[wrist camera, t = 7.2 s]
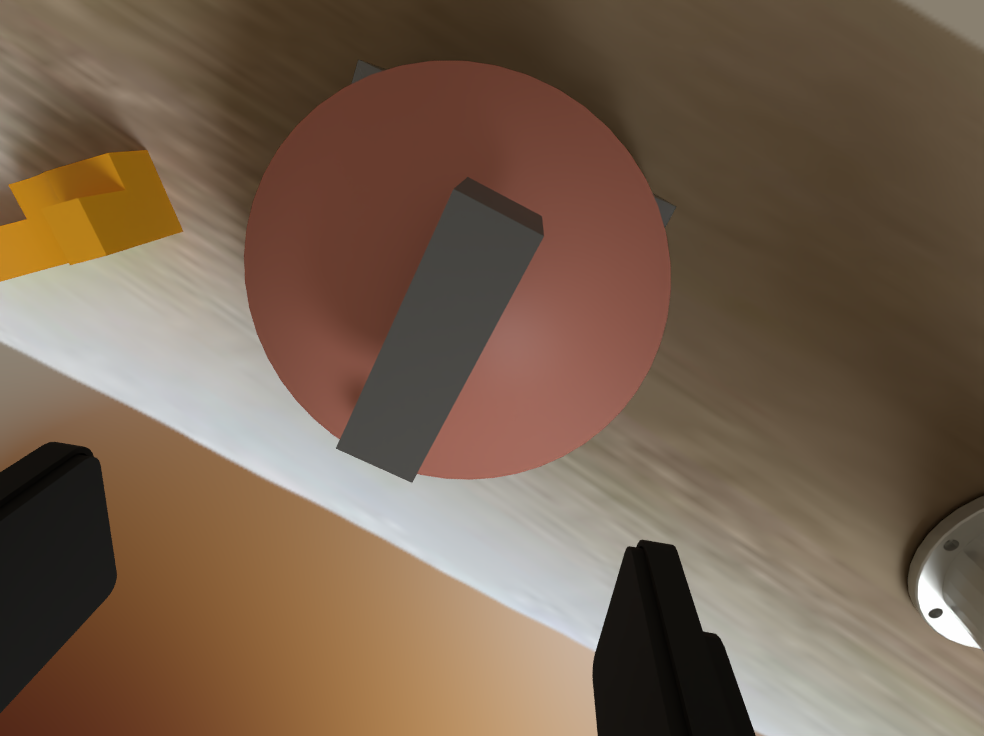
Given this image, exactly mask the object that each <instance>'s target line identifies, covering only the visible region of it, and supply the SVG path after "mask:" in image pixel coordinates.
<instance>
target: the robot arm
mask: <svg viewBox="0 0 984 736" xmlns="http://www.w3.org/2000/svg"><path fill="white" fill-rule="evenodd" d="M116 578H117V572H116V566H115V558H114V552H113V545H112V538H111V532H110V525H109V518H108V512H107V505H106V498H105V491H104V485H103V478H102V472H101V465H100V462H99V460H98V459H97V458H95V457H94V456H93V453H92V452H91V450H90V449H88V448H86V447H83V446H76V445H71V444H65V443H58V442H49V443H47V444H44V445H43V446H41V447H39V448H38V449H36V450H35V451H33V452H31V453H30V454H28V455H27V456H25V457H24V458H22V459H20V460H19V461H17V462H16V463H14V464H13V465H11V466H10V467H8V468H6V469H5V470H3V471H2V472H0V713H1V712H2V711H3V710H4V709H5V707H6V706H7V705H8V704H9V703H10V702H11V701H12V700H13V699H14V698H15V697H16V695H18V694H19V692H20V691H21V690H22V689H23V688H24V687H25V686H26V685H27V684H28V683H29V682H30V681H31V679H32V678H33V677H34V676H35V675H36V674H37V673H38V672H39V671H40V670H41V669H42V668H43V666H44V665H45V664H46V663H47V662H48V661H49V660H50V659H51V658H52V657H53V656H54V655H55V654H56V652H57V651H58V650H59V649H60V648H61V647H62V646H63V645H64V644H65V643H66V641H68V639H69V638H70V637H71V636H72V635H73V634H74V633H75V632H76V631H77V630H78V629H79V628H80V626H81V625H82V624H83V623H84V622H85V621H86V620H87V619H88V618H89V617H90V616H91V614H92V613H93V612H94V611H95V610H96V609H97V608H98V607H99V606H100V605H101V604H102V603H103V602H104V601H105V599H106V598H107V597H108V596H109V595H110V593H111V592H112V590H113V588H114V585H115V583H116ZM908 591H909V595H910V598H911V600H912V603H913V605H914V607H915V608H916V609H917V611H918V612H919V614H920V615H921V616H922V618H923V619H924V620H925V621H926V622H927V623H928V625H929V626H930V627H931V628H932V629H933V630H934V631H936V632H937V633H939V634H940V635H942V636H943V637H945V638H946V639H949V640H951V641H954V642H956V643H959V644H961V645H966V646H970V647H975V648H980V649H982V650H983V651H984V496H982V497H979V498H977V499H975V500H973V501H971V502H970V503H968V504H966V505H964V506H962V507H960V508H958V509H957V510H956V511H954V512H953V513H952V514H950V515H949V516H947V517H946V518H945V519H943V520H942V521H941V522H940V523H939V524H938V525H937V526H936V527H935V528H934V529H933V530H932V531H931V532H930V533H929V534H928V535H927V536H926V538H925V539H924V540H923V542H922V543H921V545H920V546H919V547H918V549H917V551H916V553H915V555H914V557H913V560H912V562H911V564H910V569H909V574H908ZM593 688H594V699H595V710H596V720H597V732H598V736H755V732H754V730H753V727H752V724H751V721H750V718H749V715H748V713H747V710H746V707H745V704H744V701H743V698H742V695H741V693H740V690H739V687H738V684H737V681H736V678H735V676H734V673H733V670H732V667H731V664H730V661H729V658H728V656H727V653H726V650H725V647H724V645H723V643H722V641H721V639H720V638H719V637H718V636H717V635H716V634H714V633H708V632H703V630H702V627H701V624H700V621H699V618H698V615H697V612H696V608H695V605H694V602H693V599H692V596H691V593H690V590H689V587H688V583H687V580H686V577H685V574H684V571H683V568H682V565H681V561H680V558H679V555H678V552H677V550H676V547H675V546H674V545H671V544H665V543H659V542H653V541H647V540H640V541H639V543H638V544H637V547H630V546H629V547H627V548H626V551H625V553H624V557H623V560H622V564H621V567H620V571H619V574H618V577H617V581H616V584H615V588H614V591H613V594H612V598H611V601H610V605H609V608H608V611H607V615H606V618H605V622H604V625H603V628H602V632H601V635H600V639H599V642H598V646H597V649H596V652H595V656H594V661H593Z"/></svg>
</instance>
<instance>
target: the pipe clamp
mask: <svg viewBox="0 0 984 736" xmlns="http://www.w3.org/2000/svg"><path fill="white" fill-rule="evenodd" d="M9 187H10V189H11V191H12V193H13V194H14V196H15V198H16V200H17V202H18V204H19V205H20V207H21V209H22V211H23V213H24V215H25V217H26V218H27V219H25V220H22V221H18V222H14V223H10V224H6V225H2V226H0V282H1V281H4V280H8V279H11V278H15V277H19V276H22V275H26V274H29V273H33V272H37V271H40V270H44V269H48V268H51V267H55V266H59V265H63V264H67V263H69V264H70V265H73V264H76V263H80V262H84V261H88V260H92V259H95V258H99V257H103V256H107V255H110V254H113V253H116V252H119V251H123V250H126V249H129V248H132V247H135V246H138V245H142V244H145V243H148V242H151V241H154V240H157V239H161V238H164V237H167V236H170V235H173V234H176V233H180V232H183V230H182V227H181V225H180V223H179V221H178V218H177V216H176V214H175V212H174V209H173V207H172V205H171V203H170V200H169V198H168V196H167V194H166V191H165V189H164V187H163V185H162V182H161V180H160V178H159V176H158V173H157V171H156V169H155V167H154V164H153V162H152V160H151V158H150V155H149V153H148V151H147V150H139V151H126V152H112V153H106V154H102V155H99V156H96V157H92V158H89V159H86V160H82V161H79V162H75V163H72V164H69V165H65V166H62V167H58V168H55V169H52V170H48V171H45V172H43V173H41V174H39V175H37V176H34V177H32V178H29V179H26V180H22V181H19V182H16V183H12V184H9Z"/></svg>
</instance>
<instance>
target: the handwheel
mask: <svg viewBox="0 0 984 736" xmlns="http://www.w3.org/2000/svg"><path fill="white" fill-rule="evenodd" d="M244 266H245V284H246V290H247V296H248V302H249V308H250V312H251V315H252V318H253V322H254V325H255V328H256V332H257V335H258V337H259V339H260V341H261V344H262V346H263V348H264V351H265V353H266V355H267V357H268V359H269V361H270V363H271V364H272V366H273V368H274V369H275V371H276V373H277V374H278V376H279V378H280V380H281V381H282V382H283V384H284V385H285V386H286V388H287V389H288V390H289V392H290V393H291V394H292V395H293V397H294V398H295V399H296V401H297V402H298V403H299V404H300V405H301V406H302V407H303V408H304V409H305V410H306V411H307V412H308V413H309V414H310V415H311V416H312V417H313V418H314V419H315V420H316V421H317V422H318V423H319V424H321V425H322V426H323V427H324V428H325V429H327V430H328V431H329V432H330V433H331V434H333V435H334V436H336V437H337V438H339V439H340V440H339V443H338V445H337V447H336V449H338V450H340V451H343V452H345V453H347V454H349V455H352V456H354V457H356V458H358V459H360V460H363V461H365V462H367V463H369V464H372V465H374V466H376V467H378V468H380V469H383V470H385V471H387V472H389V473H392V474H394V475H396V476H398V477H400V478H403V479H405V480H407V481H409V482H413V480H414V478H415V476H416V475H417V474H420V475H426V476H433V477H439V478H446V479H484V478H495V477H501V476H506V475H512V474H517V473H520V472H524V471H527V470H530V469H533V468H537V467H540V466H542V465H545V464H547V463H549V462H551V461H554V460H556V459H558V458H561V457H563V456H564V455H566V454H568V453H570V452H571V451H573V450H575V449H576V448H578V447H580V446H581V445H583V444H585V443H586V442H587V441H588V440H590V439H591V438H592V437H594V436H595V435H596V434H597V433H599V432H600V431H601V430H603V429H604V428H605V427H606V426H607V425H608V424H609V423H610V422H611V421H612V420H613V419H614V418H615V417H616V416H617V415H618V414H619V413H620V412H621V411H622V410H623V408H624V407H625V406H626V404H627V403H628V402H629V401H630V399H631V398H632V397H633V395H634V394H635V393H636V392H637V390H638V388H639V387H640V385H641V383H642V381H643V380H644V378H645V376H646V375H647V373H648V371H649V370H650V367H651V365H652V363H653V360H654V358H655V356H656V353H657V351H658V348H659V346H660V343H661V340H662V336H663V332H664V329H665V325H666V321H667V316H668V309H669V301H670V293H671V263H670V256H669V249H668V242H667V235H666V231H665V228H664V225H663V221H662V218H661V214H660V211H659V207H658V205H657V202H656V200H655V198H654V196H653V194H652V191H651V189H650V187H649V185H648V182H647V180H646V178H645V177H644V175H643V173H642V172H641V170H640V169H639V167H638V165H637V164H636V162H635V161H634V159H633V157H632V156H631V154H630V153H629V151H628V150H627V149H626V148H625V147H624V145H623V144H622V143H621V142H620V141H619V140H618V138H617V137H616V136H615V135H614V134H613V133H612V131H611V130H610V129H609V128H608V127H607V126H606V125H605V124H604V123H602V122H601V121H600V120H599V119H598V118H597V117H596V116H595V115H593V114H592V113H591V112H590V111H589V110H588V109H587V108H586V107H584V106H583V105H581V104H580V103H578V102H577V101H575V100H574V99H572V98H571V97H569V96H568V95H566V94H565V93H563V92H562V91H560V90H559V89H557V88H555V87H553V86H550V85H548V84H546V83H544V82H542V81H540V80H538V79H536V78H533V77H531V76H529V75H527V74H523V73H520V72H517V71H513V70H510V69H507V68H503V67H500V66H497V65H490V64H483V63H477V62H470V61H427V62H421V63H414V64H407V65H401V66H398V67H394V68H391V69H388V70H385V71H381V72H378V73H375V74H372V75H369V76H367V77H365V78H363V79H361V80H359V81H357V82H355V83H353V84H351V85H349V86H347V87H345V88H343V89H341V90H340V91H338V92H337V93H335V94H334V95H332V96H331V97H330V98H328V99H327V100H325V101H324V102H322V103H321V104H319V105H318V106H317V107H316V108H315V109H314V110H313V111H312V112H310V113H309V114H308V115H307V116H306V117H305V118H304V119H303V120H302V121H301V122H300V123H299V124H298V125H297V126H296V127H295V128H294V129H293V131H292V132H291V133H290V134H289V136H288V137H287V138H286V139H285V141H284V142H283V143H282V145H281V146H280V147H279V148H278V150H277V152H276V153H275V155H274V157H273V159H272V160H271V162H270V164H269V166H268V167H267V169H266V171H265V173H264V174H263V177H262V179H261V182H260V185H259V187H258V190H257V192H256V195H255V197H254V200H253V204H252V208H251V212H250V216H249V220H248V224H247V230H246V241H245V251H244Z"/></svg>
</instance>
